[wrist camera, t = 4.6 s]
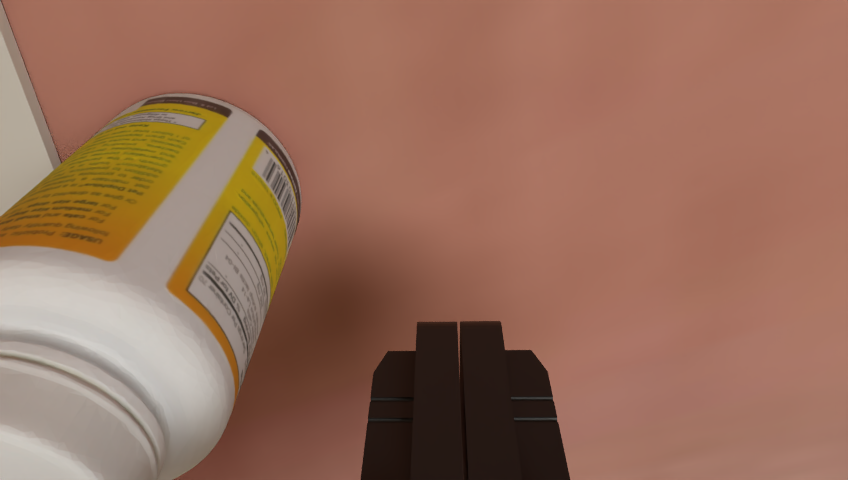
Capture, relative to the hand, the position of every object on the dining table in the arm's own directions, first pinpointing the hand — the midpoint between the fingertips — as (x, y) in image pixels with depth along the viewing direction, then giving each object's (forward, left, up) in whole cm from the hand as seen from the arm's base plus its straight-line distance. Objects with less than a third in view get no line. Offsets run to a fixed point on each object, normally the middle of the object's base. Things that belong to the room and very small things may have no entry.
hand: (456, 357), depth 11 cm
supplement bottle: (0, -7, -7) cm, 10 cm away
